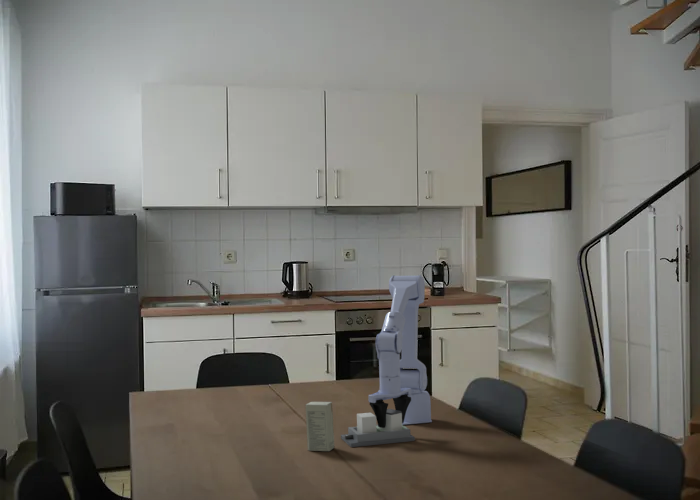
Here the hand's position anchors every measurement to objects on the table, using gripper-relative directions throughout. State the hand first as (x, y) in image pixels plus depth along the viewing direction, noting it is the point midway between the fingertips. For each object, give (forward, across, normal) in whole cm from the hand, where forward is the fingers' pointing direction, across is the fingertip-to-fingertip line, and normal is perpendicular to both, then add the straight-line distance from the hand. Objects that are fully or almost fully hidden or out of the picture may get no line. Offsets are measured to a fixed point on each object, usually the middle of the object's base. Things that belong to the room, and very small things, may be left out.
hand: (391, 424), depth 208 cm
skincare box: (+4, +21, -5) cm, 22 cm away
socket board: (+4, +4, -2) cm, 5 cm away
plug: (+3, 0, 0) cm, 3 cm away
